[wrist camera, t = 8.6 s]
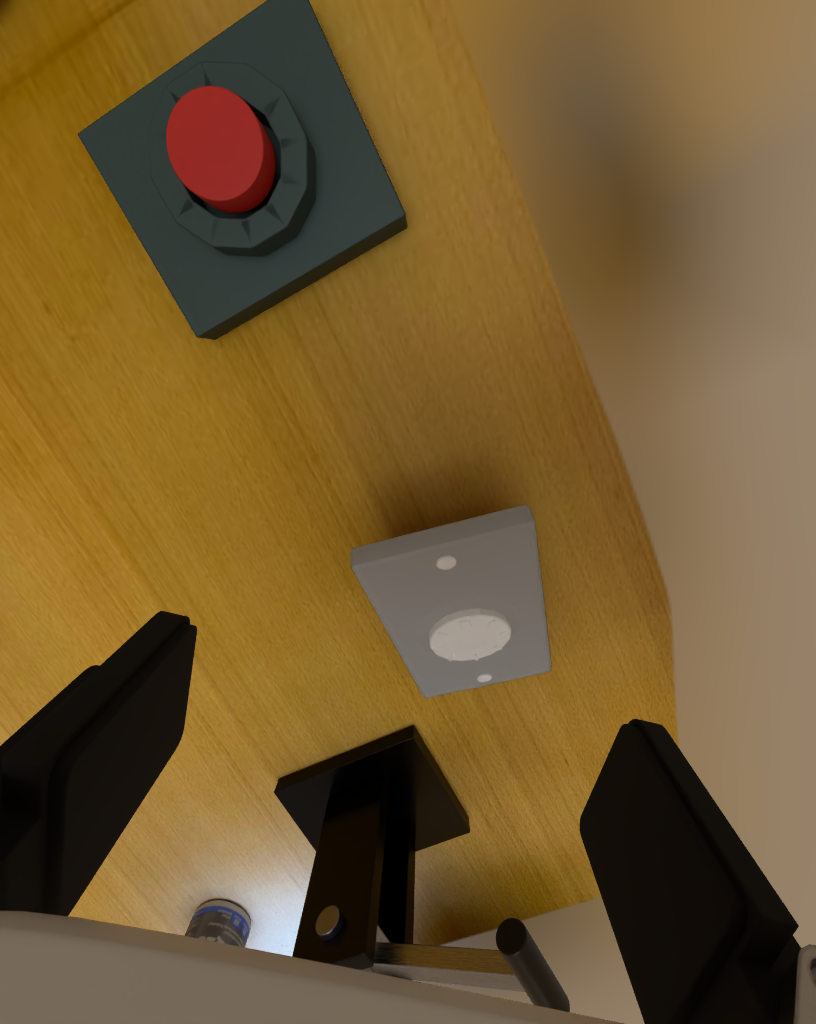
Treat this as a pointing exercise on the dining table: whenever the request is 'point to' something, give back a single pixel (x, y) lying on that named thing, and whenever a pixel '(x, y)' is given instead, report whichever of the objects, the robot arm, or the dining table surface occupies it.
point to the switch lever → (477, 965)
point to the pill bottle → (220, 923)
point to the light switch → (461, 600)
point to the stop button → (220, 149)
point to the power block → (297, 184)
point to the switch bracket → (367, 843)
